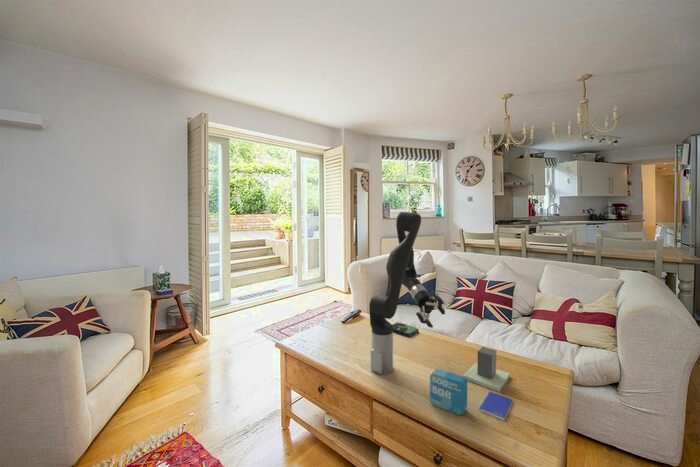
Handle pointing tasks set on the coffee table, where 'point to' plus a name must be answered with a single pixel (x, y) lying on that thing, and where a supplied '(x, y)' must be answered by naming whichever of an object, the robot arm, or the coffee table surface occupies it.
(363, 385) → the coffee table surface
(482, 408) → the hard drive
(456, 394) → the data package
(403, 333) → the disk drive
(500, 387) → the pin board
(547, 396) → the coffee table surface
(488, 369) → the block
